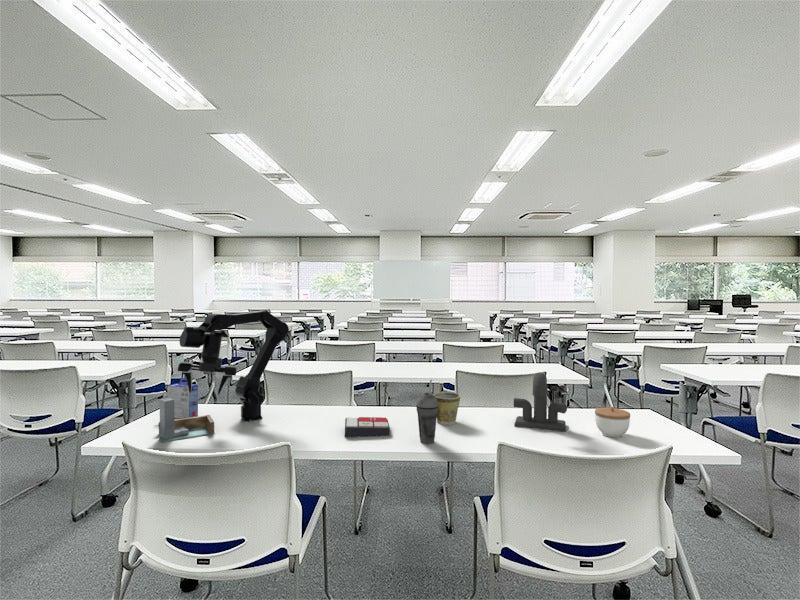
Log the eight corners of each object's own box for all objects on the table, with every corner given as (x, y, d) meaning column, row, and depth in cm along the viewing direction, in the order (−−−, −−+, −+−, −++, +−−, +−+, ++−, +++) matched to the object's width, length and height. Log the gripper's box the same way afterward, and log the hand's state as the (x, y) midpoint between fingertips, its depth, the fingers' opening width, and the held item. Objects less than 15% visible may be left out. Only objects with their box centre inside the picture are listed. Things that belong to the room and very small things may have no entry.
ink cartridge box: (199, 415, 170) (198, 378, 169) (189, 419, 164) (189, 381, 164) (176, 413, 172) (176, 377, 171) (166, 417, 166) (166, 380, 166)
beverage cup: (414, 438, 143) (414, 377, 143) (436, 437, 144) (436, 377, 143) (417, 446, 136) (417, 382, 136) (440, 445, 137) (440, 381, 136)
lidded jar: (588, 429, 152) (589, 403, 152) (618, 429, 153) (618, 402, 152) (605, 440, 141) (605, 411, 141) (636, 439, 142) (637, 411, 142)
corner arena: (209, 425, 156) (209, 414, 156) (214, 433, 148) (214, 422, 148) (158, 433, 148) (158, 422, 148) (160, 442, 139) (160, 430, 139)
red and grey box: (390, 426, 146) (345, 425, 144) (389, 438, 146) (344, 438, 144) (387, 416, 157) (345, 415, 155) (387, 428, 157) (344, 427, 155)
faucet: (510, 432, 149) (510, 374, 148) (514, 419, 164) (515, 366, 163) (567, 439, 142) (567, 378, 142) (566, 425, 157) (567, 369, 157)
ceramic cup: (457, 427, 154) (457, 399, 154) (429, 424, 157) (430, 397, 157) (463, 417, 167) (463, 391, 166) (438, 415, 170) (438, 389, 169)
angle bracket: (165, 440, 140) (164, 401, 140) (160, 437, 143) (159, 399, 143) (188, 434, 146) (188, 397, 146) (183, 431, 149) (183, 395, 148)
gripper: (179, 347, 144) (171, 395, 142) (238, 353, 150) (231, 399, 148) (183, 345, 154) (176, 390, 153) (239, 351, 160) (233, 394, 159)
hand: (204, 393), depth 153 cm, fingers open, 9 cm apart
